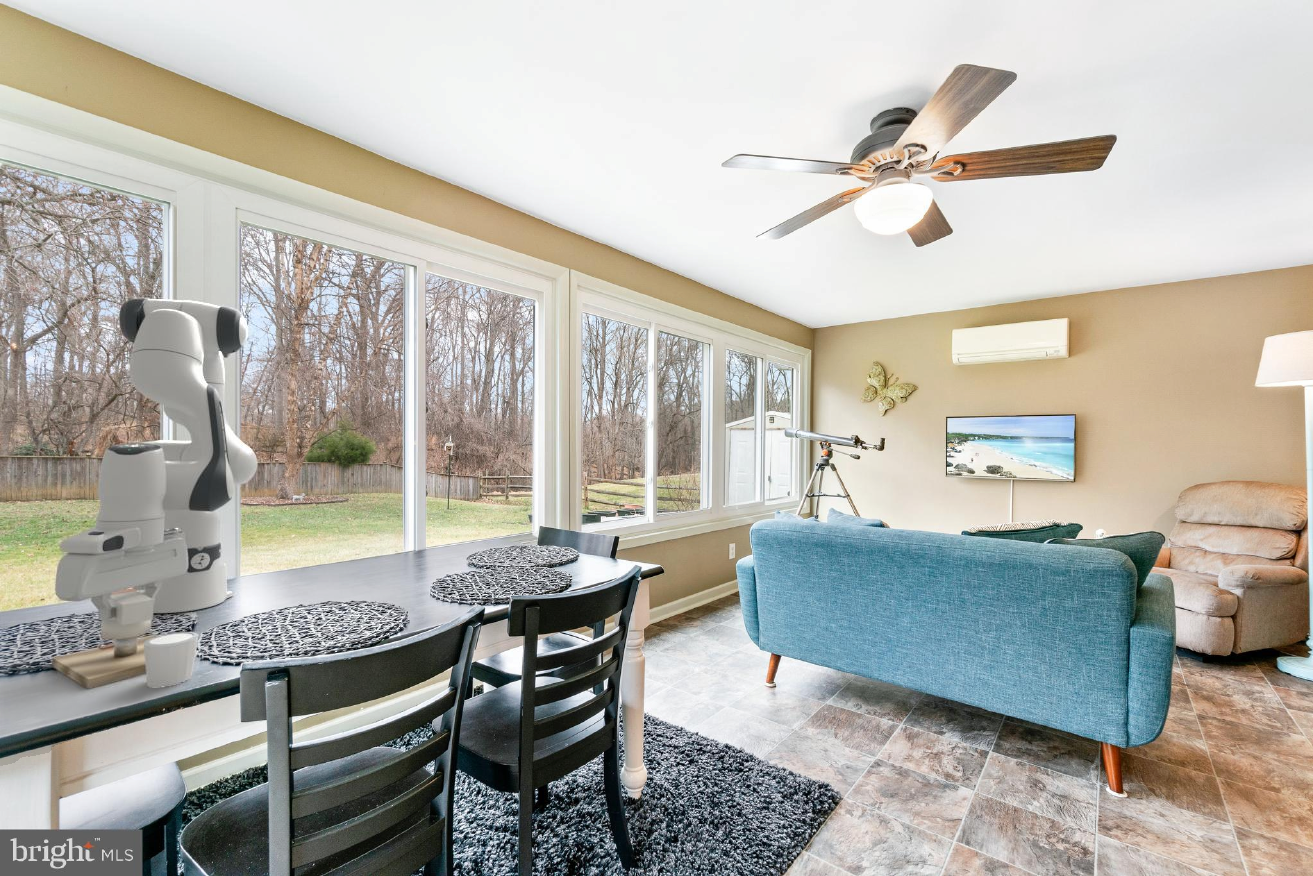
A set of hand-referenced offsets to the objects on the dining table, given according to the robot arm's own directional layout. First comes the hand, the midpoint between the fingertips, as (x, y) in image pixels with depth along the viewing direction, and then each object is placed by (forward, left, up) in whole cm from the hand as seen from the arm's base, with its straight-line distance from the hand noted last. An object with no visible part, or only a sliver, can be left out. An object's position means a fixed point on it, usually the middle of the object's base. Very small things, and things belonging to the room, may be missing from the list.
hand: (127, 612), depth 98 cm
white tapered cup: (+14, +1, -9) cm, 17 cm away
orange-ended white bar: (0, 0, -4) cm, 4 cm away
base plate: (0, 0, -9) cm, 9 cm away
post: (0, 0, -7) cm, 7 cm away
